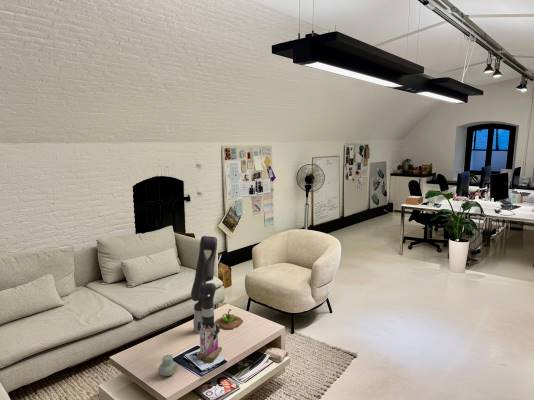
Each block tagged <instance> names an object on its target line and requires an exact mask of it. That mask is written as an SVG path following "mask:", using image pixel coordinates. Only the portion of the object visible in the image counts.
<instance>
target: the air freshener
mask: <svg viewBox="0 0 534 400" xmlns="http://www.w3.org/2000/svg"><path fill="white" fill-rule="evenodd" d="M173 357H174V356H173V355H172V354H166V355H164V356H163V357H162V363H161V364H160V365H159V367H158V373H159V374H160V375H162V376H164V377H168V376H169V377H171V376H172V375H174V374H175V373H176V372H177V370H178V369H179V368H178V367H179V366H178V364H177V362H176V361H174V358H173Z"/></svg>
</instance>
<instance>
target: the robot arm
mask: <svg viewBox="0 0 534 400" xmlns="http://www.w3.org/2000/svg"><path fill="white" fill-rule="evenodd" d="M217 248H218V239H217V237H216V236H210V235H209V236H208V235H202V236H201V237H200V240H199V251H198V257H197V262H196V268H195V275H194V280H193V283H192V287H191V290H190V291H191V292H190V297H191V299H192V301H194V302H196V303H195V304H194V305H193V314H194V315H193V316H194V318H193V321H192V322H193V323H192V324H193V333H195V334H199V335H200V329H201V328H205V327H207V328H209V329H210V330H211V331H212V332H213V336H214V340H215V339H216V338H217V334H218V335H219V333H220V329H221V328H219V323H218V324H215V308H214V307H215V306H214V299H215V294H216V290H217V286H216V284H215V283H212V282H211V281H213V280H214V273H215V270H214V269H215V261H216V255H217ZM205 251H211V252H210V256H209V257H207V256H206V253H205ZM214 326H215V327H214ZM213 327H214V329H212V328H213ZM215 328H216V329H215Z"/></svg>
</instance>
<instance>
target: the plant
mask: <svg viewBox="0 0 534 400" xmlns="http://www.w3.org/2000/svg"><path fill="white" fill-rule="evenodd" d="M231 311H232V308H229V309H228V311H227V313H224V314H223V315H221V317H220V318H218V319H216V320H214V323H215V324H218V323H219V329H222V330H226V331H230V330H232V331H233V330H234V329H237V328H239V327H240V326H241V325H242V324H243V323H244V320H243V318H241V317H239V316H237V315H235V314H230V312H231Z"/></svg>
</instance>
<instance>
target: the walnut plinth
mask: <svg viewBox="0 0 534 400" xmlns="http://www.w3.org/2000/svg"><path fill="white" fill-rule="evenodd" d="M222 350H223V347H222V346H218V349H216V350H214V351H213V352H211V353H209V354H207V355H203V354H201V353H200V351H199V352H198V353H197V354H196V359H197V358H198V359H197V360H201V359H202V361H206V362H208V361H209V362H210V363H214V362H215V361H216V360H217V358H218V357H219V356H220V353H221V352H222ZM214 360H215V361H214ZM209 362H208V363H209Z"/></svg>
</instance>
